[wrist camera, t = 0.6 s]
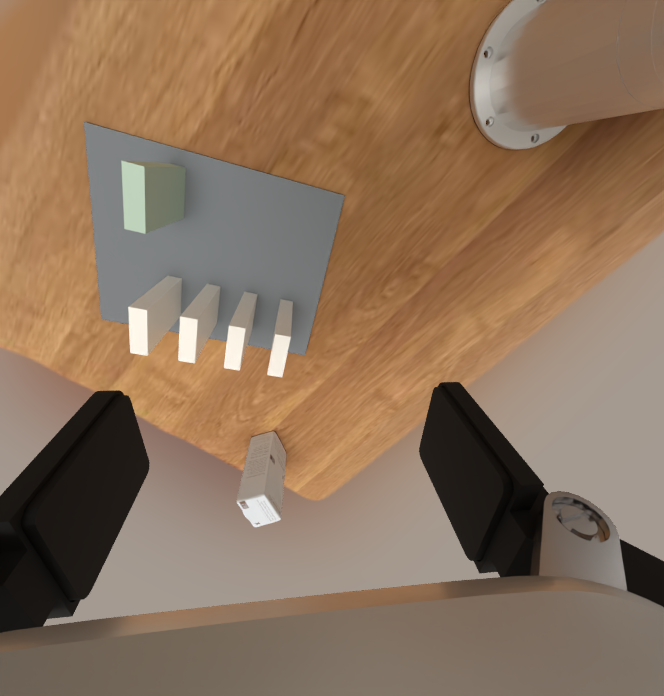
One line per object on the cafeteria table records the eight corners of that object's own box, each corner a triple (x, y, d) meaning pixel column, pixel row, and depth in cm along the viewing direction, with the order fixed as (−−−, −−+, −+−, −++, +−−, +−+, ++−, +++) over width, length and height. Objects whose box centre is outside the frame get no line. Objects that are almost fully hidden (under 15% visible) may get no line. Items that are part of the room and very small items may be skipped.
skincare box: (287, 453, 55) (284, 521, 44) (263, 460, 55) (254, 529, 44) (273, 428, 52) (267, 494, 41) (248, 436, 52) (234, 503, 41)
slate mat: (344, 195, 36) (344, 195, 35) (305, 353, 45) (305, 355, 45) (86, 122, 31) (83, 121, 30) (103, 318, 40) (101, 319, 40)
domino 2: (220, 286, 39) (197, 319, 30) (217, 322, 41) (194, 363, 33) (207, 283, 39) (180, 316, 30) (204, 320, 41) (178, 360, 32)
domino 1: (181, 278, 38) (147, 310, 30) (180, 315, 41) (147, 355, 32) (167, 275, 38) (128, 306, 29) (167, 313, 40) (130, 352, 32)
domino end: (185, 167, 33) (144, 166, 24) (183, 218, 35) (145, 233, 26) (169, 163, 33) (121, 160, 24) (168, 214, 35) (124, 228, 26)
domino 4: (292, 301, 41) (290, 337, 32) (285, 335, 43) (282, 377, 34) (280, 299, 41) (274, 334, 32) (273, 333, 43) (267, 374, 34)
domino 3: (257, 294, 40) (245, 328, 31) (252, 329, 42) (239, 370, 34) (244, 291, 40) (228, 325, 31) (239, 327, 42) (224, 367, 33)
